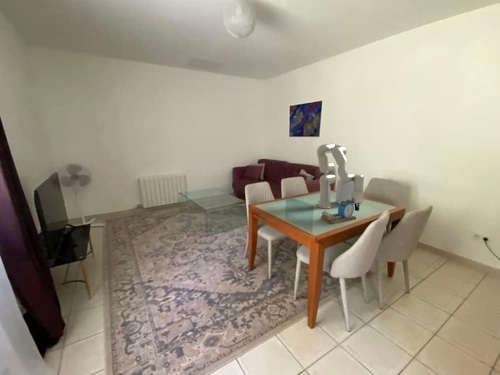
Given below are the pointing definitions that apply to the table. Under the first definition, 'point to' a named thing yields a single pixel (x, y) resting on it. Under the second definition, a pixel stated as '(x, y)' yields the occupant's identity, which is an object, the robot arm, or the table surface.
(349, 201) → the alarm clock
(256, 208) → the table surface
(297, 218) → the table surface
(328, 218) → the winch
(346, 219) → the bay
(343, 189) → the plastic bottle
